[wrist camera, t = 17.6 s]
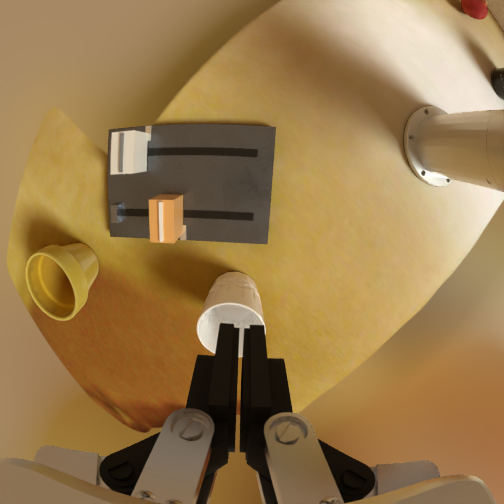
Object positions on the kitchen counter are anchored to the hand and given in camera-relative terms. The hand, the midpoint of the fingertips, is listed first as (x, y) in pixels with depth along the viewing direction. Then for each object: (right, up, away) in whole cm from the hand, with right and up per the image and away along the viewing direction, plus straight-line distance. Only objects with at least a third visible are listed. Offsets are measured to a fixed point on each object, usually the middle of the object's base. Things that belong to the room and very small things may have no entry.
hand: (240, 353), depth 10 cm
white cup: (-2, -2, +30) cm, 30 cm away
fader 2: (-10, +9, +24) cm, 27 cm away
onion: (+42, +52, +12) cm, 68 cm away
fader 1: (-14, +17, +21) cm, 30 cm away
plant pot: (-27, +2, +28) cm, 39 cm away
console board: (-8, +13, +24) cm, 29 cm away
